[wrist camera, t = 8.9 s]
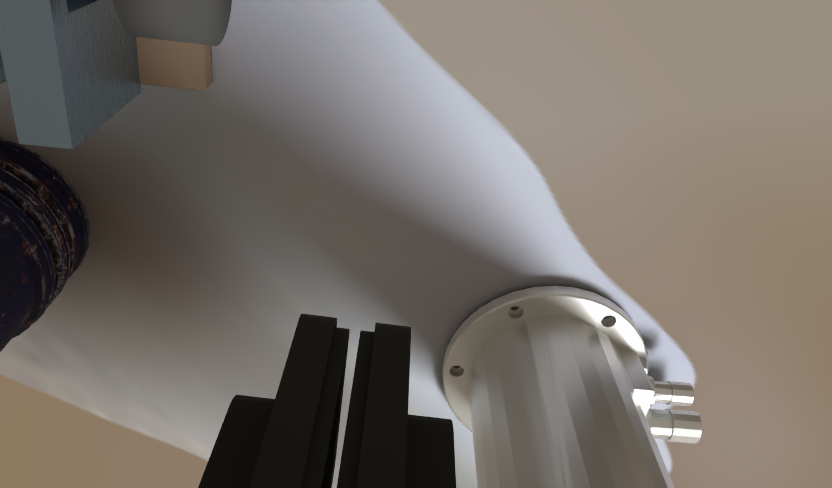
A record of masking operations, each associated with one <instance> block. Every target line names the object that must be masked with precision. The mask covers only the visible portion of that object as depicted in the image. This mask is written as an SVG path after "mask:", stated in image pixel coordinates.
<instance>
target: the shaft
mask: <svg viewBox="0 0 832 488" xmlns="http://www.w3.org/2000/svg"><path fill="white" fill-rule="evenodd" d="M113 3H114V7H115V10H116V13H117V15H118V18H119V20H120V22H121V24H122V26H123V27H124V29H125V30H126V31H127V32H128V33H129V34H130V35H132V36H134V37H141V38H150V39H159V40H167V41H176V42H185V43H194V44H202V45H211V46H217V45H219V44H220V43H221V41H222V39H223V38H224V35H225V33H226V30H227V26H228V22H229V17H230V11H231V3H232V0H113Z"/></svg>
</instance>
